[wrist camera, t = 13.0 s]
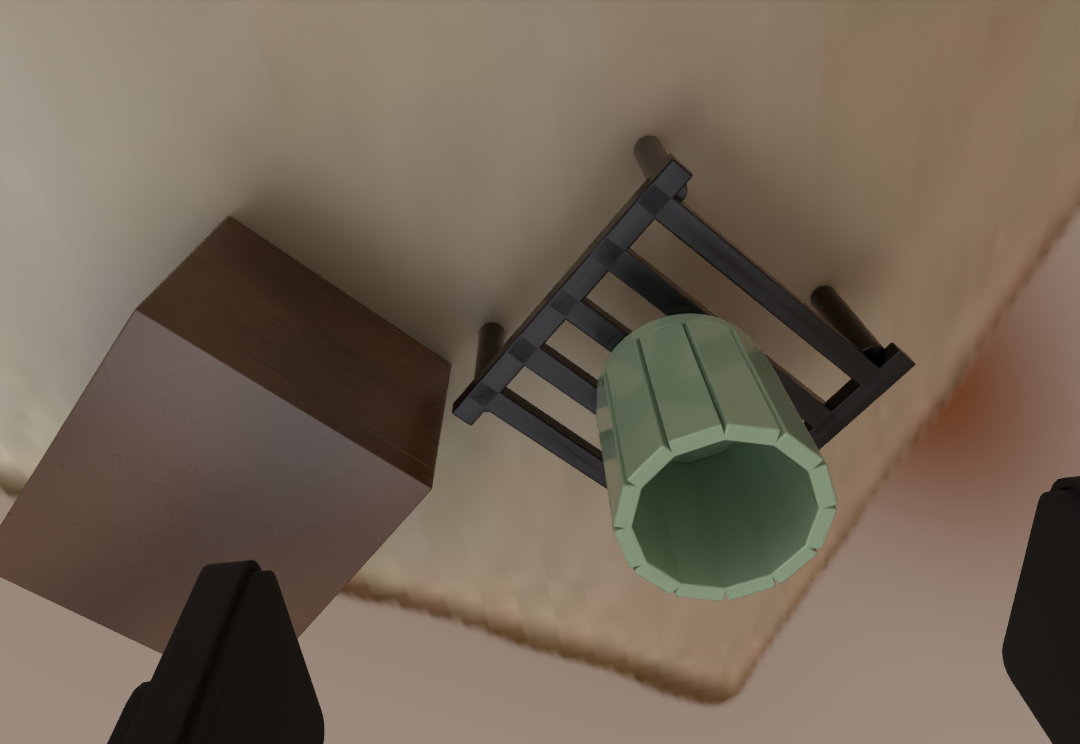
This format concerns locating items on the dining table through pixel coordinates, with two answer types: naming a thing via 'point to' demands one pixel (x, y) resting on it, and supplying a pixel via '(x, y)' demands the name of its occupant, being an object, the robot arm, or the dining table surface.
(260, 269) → the shelf
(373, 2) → the dining table surface
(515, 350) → the rack
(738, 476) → the cup
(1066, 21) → the dining table surface
